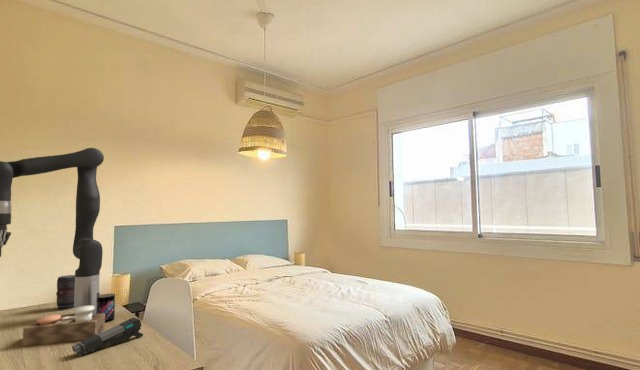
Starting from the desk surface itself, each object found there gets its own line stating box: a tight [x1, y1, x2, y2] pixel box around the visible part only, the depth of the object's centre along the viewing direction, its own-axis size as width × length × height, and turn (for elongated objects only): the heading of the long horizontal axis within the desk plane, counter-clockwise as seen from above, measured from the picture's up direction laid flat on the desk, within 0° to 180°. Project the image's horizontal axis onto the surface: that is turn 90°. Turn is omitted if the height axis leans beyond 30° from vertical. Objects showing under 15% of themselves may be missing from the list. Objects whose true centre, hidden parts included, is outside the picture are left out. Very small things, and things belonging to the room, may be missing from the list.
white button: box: [72, 305, 95, 322], centre depth 127 cm, size 7×7×7 cm
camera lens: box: [56, 274, 75, 311], centre depth 164 cm, size 8×8×15 cm
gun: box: [71, 317, 144, 357], centre depth 116 cm, size 4×20×10 cm, turn 142°
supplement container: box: [96, 293, 116, 324], centre depth 144 cm, size 7×7×10 cm
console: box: [22, 314, 106, 347], centre depth 125 cm, size 22×10×6 cm, turn 105°
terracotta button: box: [37, 314, 62, 325], centre depth 124 cm, size 7×7×7 cm
